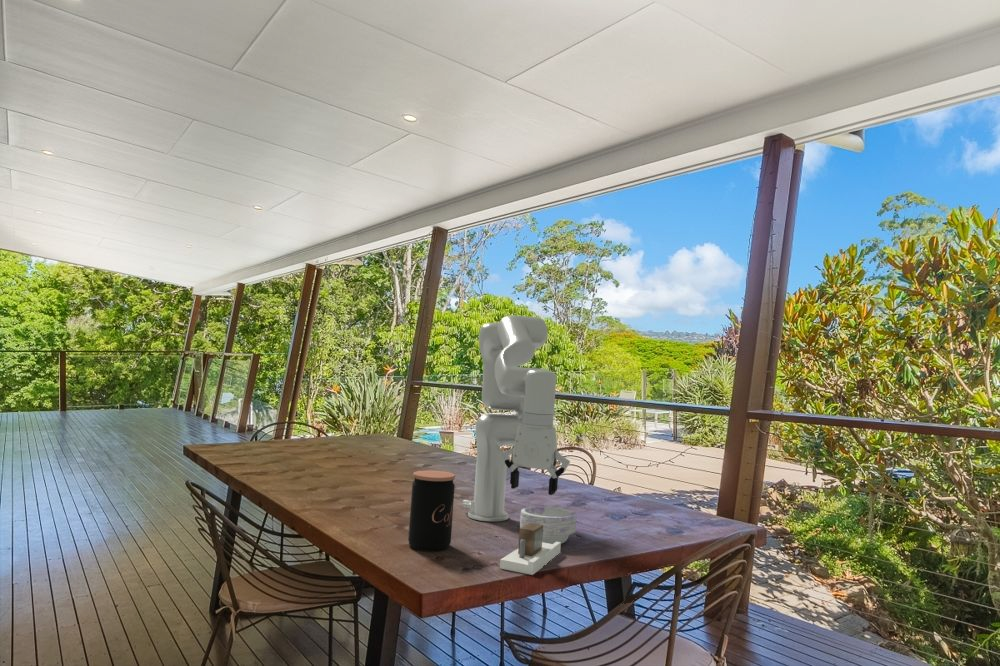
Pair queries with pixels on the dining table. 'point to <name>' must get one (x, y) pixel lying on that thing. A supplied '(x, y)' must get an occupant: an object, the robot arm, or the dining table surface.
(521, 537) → the wooden block
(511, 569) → the white slotted base
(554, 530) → the paper bowls
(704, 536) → the dining table surface
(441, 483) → the coffee jar
